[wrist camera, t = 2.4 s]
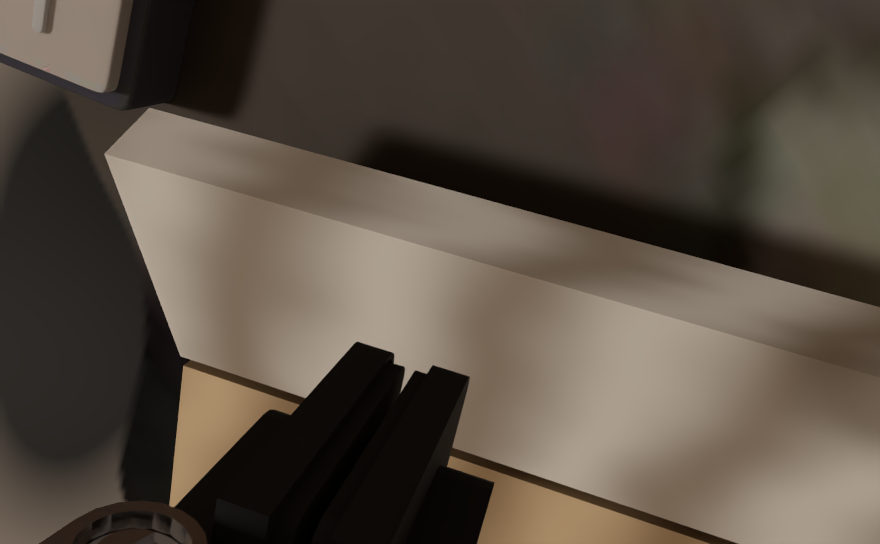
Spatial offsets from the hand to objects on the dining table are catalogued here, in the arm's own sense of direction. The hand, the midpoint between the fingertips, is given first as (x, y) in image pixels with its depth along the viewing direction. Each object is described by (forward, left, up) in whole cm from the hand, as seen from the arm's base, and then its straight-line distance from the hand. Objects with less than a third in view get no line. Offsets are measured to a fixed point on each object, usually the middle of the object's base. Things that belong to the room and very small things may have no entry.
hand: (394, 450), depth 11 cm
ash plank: (-1, +2, -11) cm, 11 cm away
